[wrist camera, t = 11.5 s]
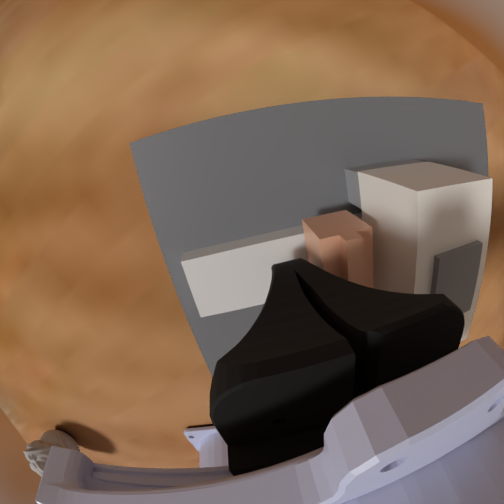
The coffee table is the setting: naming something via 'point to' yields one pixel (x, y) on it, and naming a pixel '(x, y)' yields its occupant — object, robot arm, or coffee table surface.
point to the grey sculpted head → (47, 448)
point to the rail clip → (340, 246)
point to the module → (425, 228)
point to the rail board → (277, 190)
